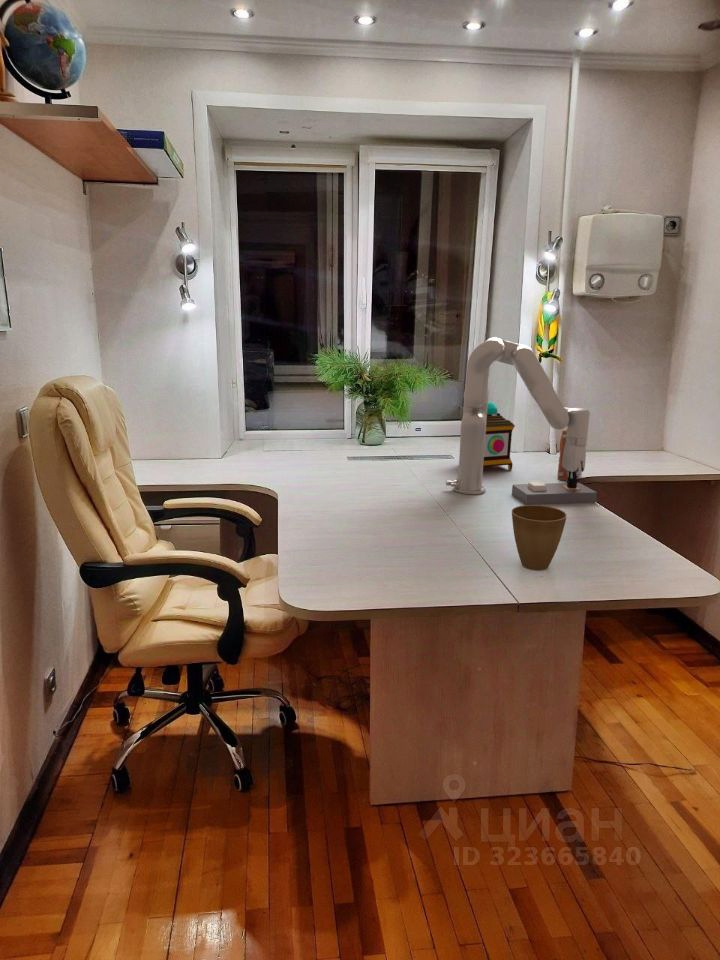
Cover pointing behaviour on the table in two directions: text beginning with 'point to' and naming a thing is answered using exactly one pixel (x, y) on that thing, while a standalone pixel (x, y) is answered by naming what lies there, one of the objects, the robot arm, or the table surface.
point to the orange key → (570, 488)
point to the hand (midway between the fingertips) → (571, 487)
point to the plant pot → (537, 534)
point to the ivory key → (537, 486)
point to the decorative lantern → (497, 439)
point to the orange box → (562, 471)
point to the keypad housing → (554, 494)
